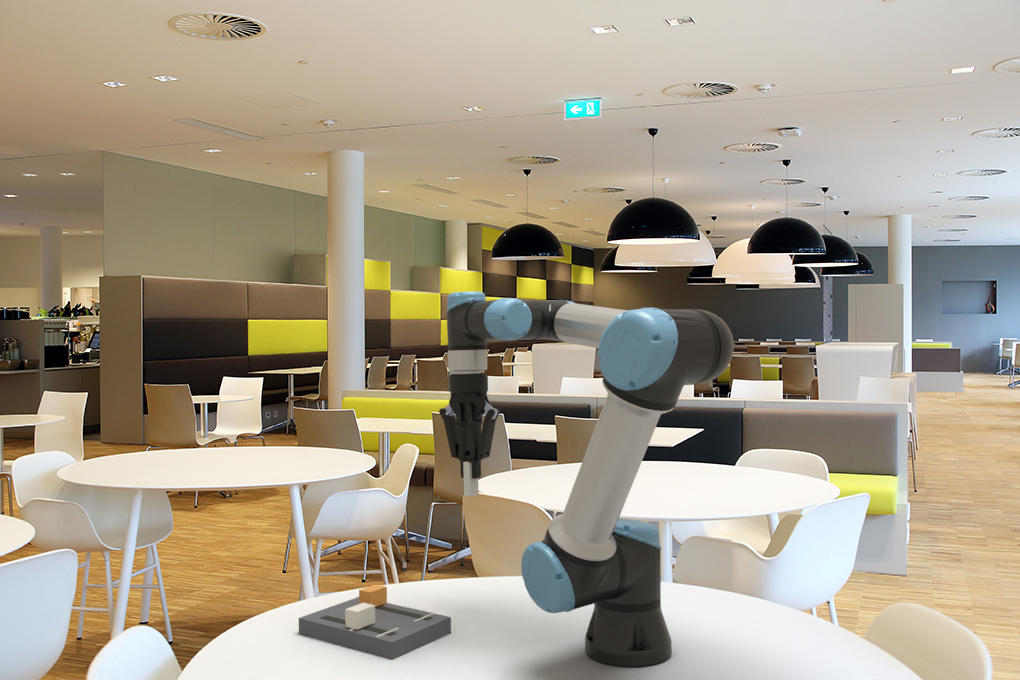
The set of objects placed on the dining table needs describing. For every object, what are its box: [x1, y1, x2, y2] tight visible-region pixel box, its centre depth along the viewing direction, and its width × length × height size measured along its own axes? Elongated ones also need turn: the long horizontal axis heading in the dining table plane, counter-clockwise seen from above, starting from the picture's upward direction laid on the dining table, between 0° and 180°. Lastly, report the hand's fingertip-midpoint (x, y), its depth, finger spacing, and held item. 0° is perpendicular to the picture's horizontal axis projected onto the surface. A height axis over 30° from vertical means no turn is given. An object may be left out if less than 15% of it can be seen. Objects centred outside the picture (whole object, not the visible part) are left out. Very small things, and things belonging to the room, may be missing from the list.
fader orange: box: [358, 584, 388, 607], centre depth 172 cm, size 3×5×3 cm, turn 145°
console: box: [298, 596, 452, 660], centre depth 165 cm, size 24×16×3 cm, turn 55°
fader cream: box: [345, 603, 375, 630], centre depth 160 cm, size 3×5×3 cm, turn 145°
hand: (471, 495), depth 168 cm, fingers closed
